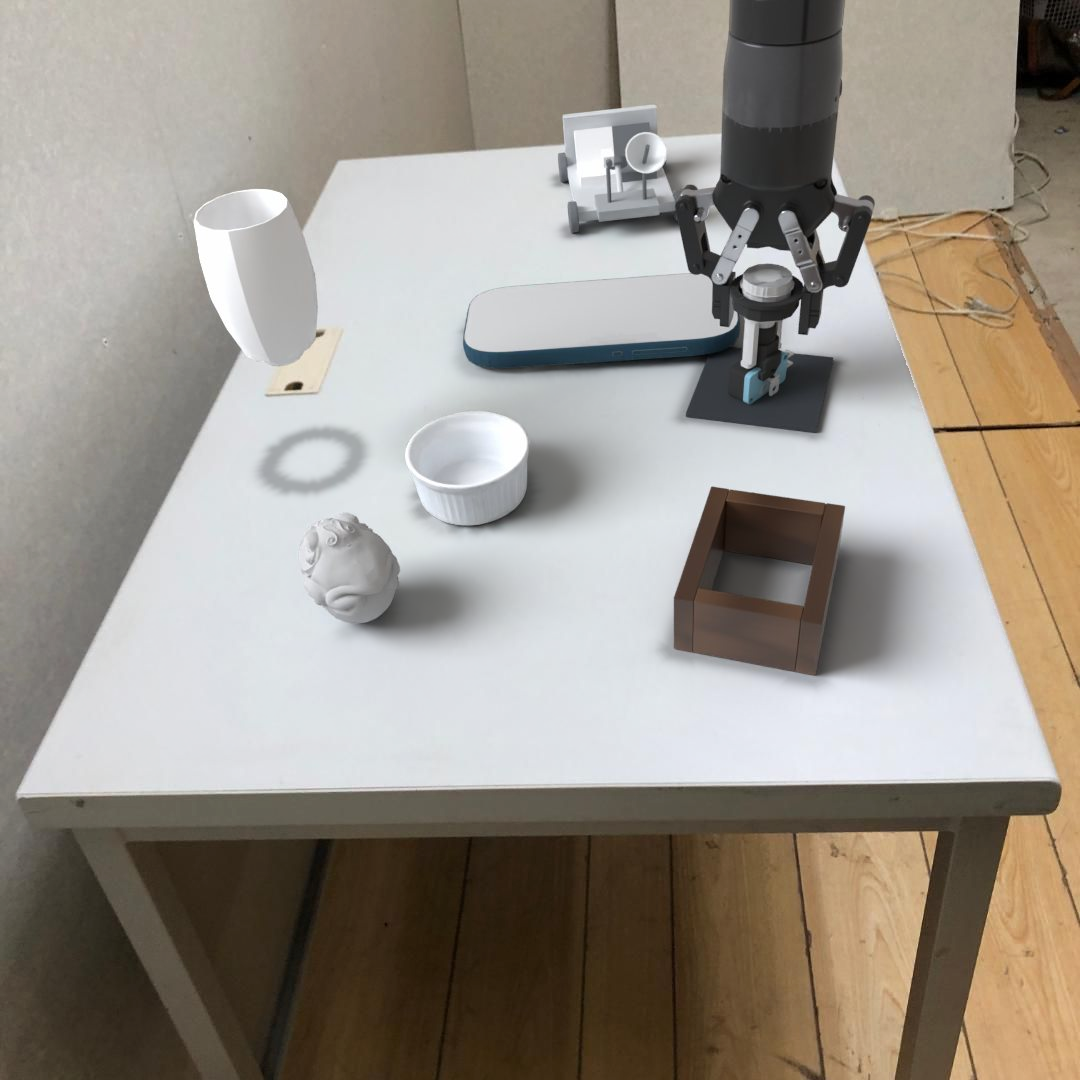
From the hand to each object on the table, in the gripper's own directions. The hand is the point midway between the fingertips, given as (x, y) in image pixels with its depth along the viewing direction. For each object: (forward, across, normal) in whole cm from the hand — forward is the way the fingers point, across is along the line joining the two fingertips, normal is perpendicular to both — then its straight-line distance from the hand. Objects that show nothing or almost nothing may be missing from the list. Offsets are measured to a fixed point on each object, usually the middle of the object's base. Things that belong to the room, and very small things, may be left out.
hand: (765, 324), depth 81 cm
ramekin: (+6, -18, -17) cm, 26 cm away
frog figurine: (+6, -21, -30) cm, 38 cm away
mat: (+6, 0, 0) cm, 6 cm away
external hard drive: (+6, -15, +6) cm, 17 cm away
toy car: (+6, -20, +31) cm, 37 cm away
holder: (+6, +4, -23) cm, 24 cm away
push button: (+6, 0, 0) cm, 6 cm away
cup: (+6, -32, -16) cm, 36 cm away
